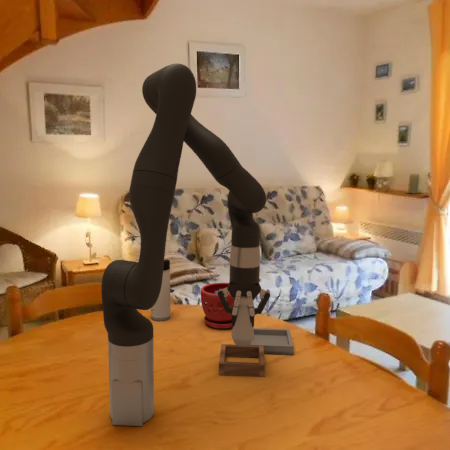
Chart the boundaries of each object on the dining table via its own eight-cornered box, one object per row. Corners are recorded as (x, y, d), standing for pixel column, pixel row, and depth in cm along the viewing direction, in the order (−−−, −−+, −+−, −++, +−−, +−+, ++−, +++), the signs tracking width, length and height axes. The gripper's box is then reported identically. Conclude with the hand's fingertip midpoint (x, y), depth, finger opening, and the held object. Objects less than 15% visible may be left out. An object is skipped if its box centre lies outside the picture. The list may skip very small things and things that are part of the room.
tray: (293, 354, 130) (293, 346, 129) (249, 353, 130) (249, 344, 130) (289, 337, 141) (289, 329, 141) (249, 335, 142) (249, 327, 142)
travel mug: (148, 320, 152) (147, 260, 149) (154, 313, 159) (153, 255, 155) (166, 322, 151) (166, 261, 148) (172, 315, 158) (172, 256, 154)
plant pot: (233, 314, 159) (234, 279, 157) (247, 329, 147) (248, 292, 145) (195, 318, 155) (196, 283, 153) (207, 333, 143) (207, 295, 141)
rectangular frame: (264, 376, 118) (264, 365, 117) (218, 374, 118) (218, 363, 118) (263, 355, 129) (263, 345, 128) (221, 354, 129) (221, 344, 129)
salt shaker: (251, 349, 119) (253, 299, 116) (229, 346, 120) (230, 297, 118) (255, 340, 124) (256, 292, 122) (233, 337, 125) (235, 290, 123)
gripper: (215, 265, 115) (214, 332, 118) (273, 267, 114) (271, 335, 117) (217, 258, 122) (216, 321, 125) (272, 260, 122) (269, 324, 125)
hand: (242, 328), depth 121 cm, fingers closed on salt shaker, 3 cm apart
